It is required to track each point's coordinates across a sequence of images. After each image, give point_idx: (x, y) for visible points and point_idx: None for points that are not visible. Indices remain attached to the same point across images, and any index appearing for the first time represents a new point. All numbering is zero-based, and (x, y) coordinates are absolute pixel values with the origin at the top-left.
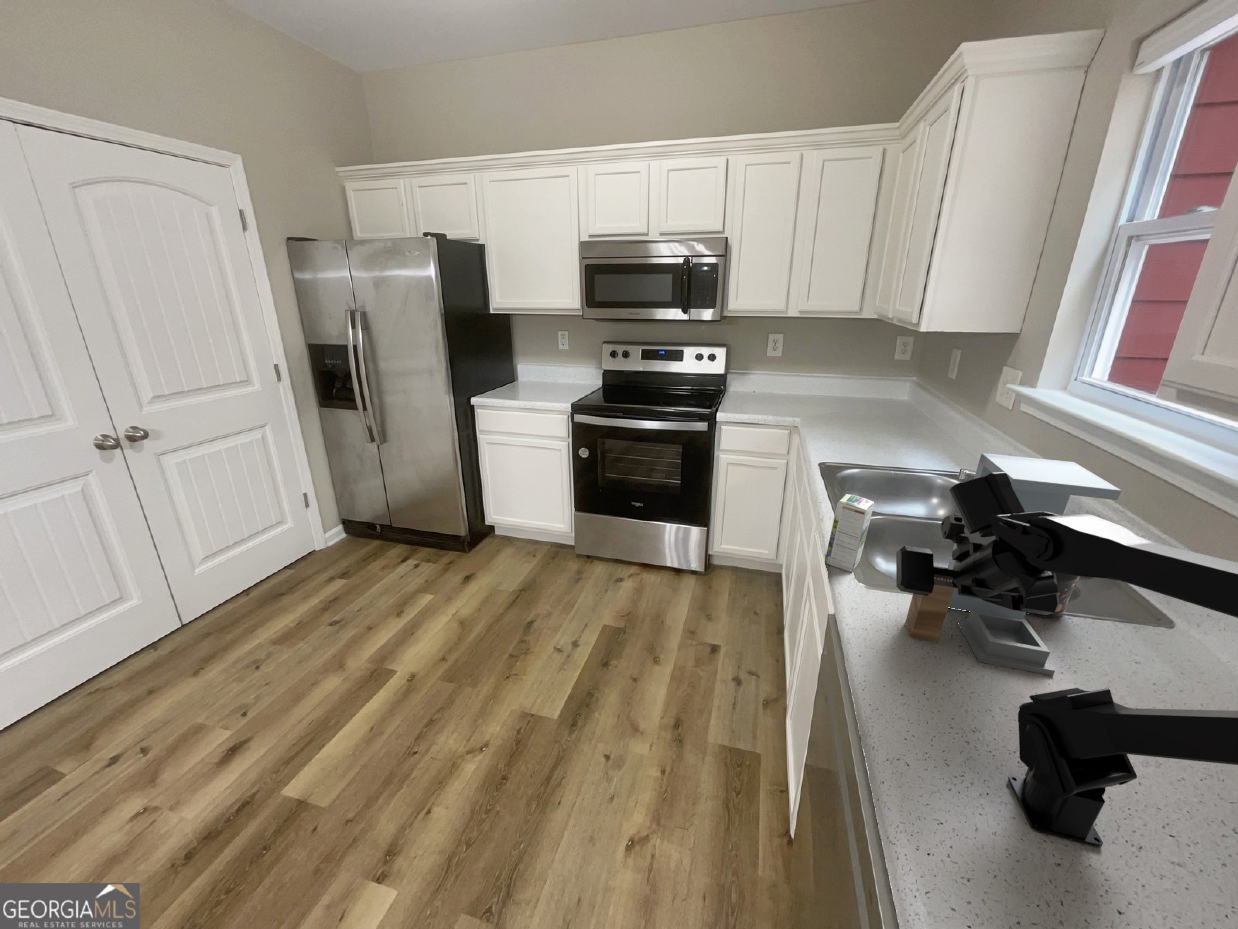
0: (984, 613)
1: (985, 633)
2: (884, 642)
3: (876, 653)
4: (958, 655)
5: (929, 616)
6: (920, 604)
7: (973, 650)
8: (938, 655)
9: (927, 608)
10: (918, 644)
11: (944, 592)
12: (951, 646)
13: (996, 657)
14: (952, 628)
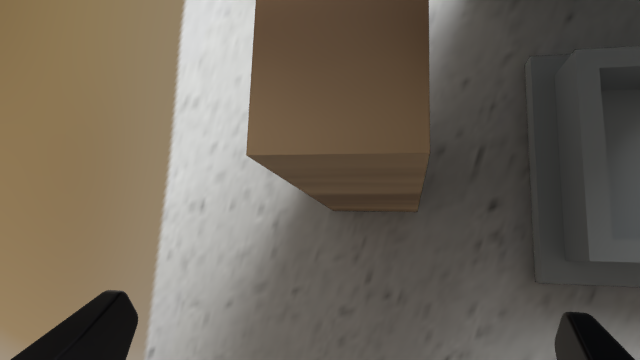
0: (632, 52)
1: (589, 207)
2: (242, 261)
3: (203, 327)
4: (472, 263)
5: (358, 198)
6: (302, 189)
7: (534, 225)
8: (401, 282)
9: (337, 191)
10: (349, 239)
11: (381, 172)
12: (461, 217)
13: (605, 272)
14: (496, 106)
